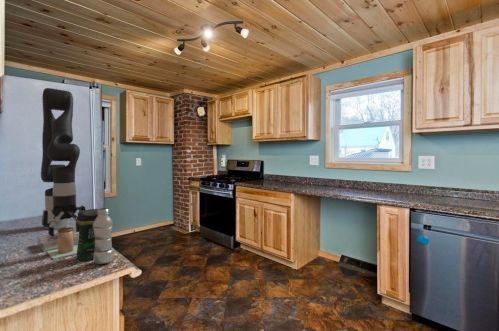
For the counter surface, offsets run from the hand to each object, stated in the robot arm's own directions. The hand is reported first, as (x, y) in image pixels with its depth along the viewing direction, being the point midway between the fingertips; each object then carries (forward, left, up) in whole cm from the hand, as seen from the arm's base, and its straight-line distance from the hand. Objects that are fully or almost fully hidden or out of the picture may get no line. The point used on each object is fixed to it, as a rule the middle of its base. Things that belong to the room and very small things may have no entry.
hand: (65, 233), depth 105 cm
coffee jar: (+12, +6, -8) cm, 16 cm away
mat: (0, 0, -8) cm, 8 cm away
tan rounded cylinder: (0, 0, -7) cm, 7 cm away
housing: (-12, 0, -8) cm, 14 cm away
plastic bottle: (+21, +7, -8) cm, 23 cm away
